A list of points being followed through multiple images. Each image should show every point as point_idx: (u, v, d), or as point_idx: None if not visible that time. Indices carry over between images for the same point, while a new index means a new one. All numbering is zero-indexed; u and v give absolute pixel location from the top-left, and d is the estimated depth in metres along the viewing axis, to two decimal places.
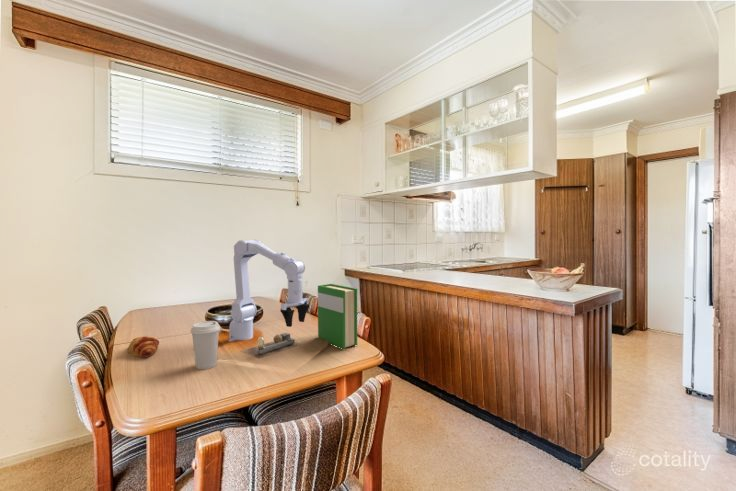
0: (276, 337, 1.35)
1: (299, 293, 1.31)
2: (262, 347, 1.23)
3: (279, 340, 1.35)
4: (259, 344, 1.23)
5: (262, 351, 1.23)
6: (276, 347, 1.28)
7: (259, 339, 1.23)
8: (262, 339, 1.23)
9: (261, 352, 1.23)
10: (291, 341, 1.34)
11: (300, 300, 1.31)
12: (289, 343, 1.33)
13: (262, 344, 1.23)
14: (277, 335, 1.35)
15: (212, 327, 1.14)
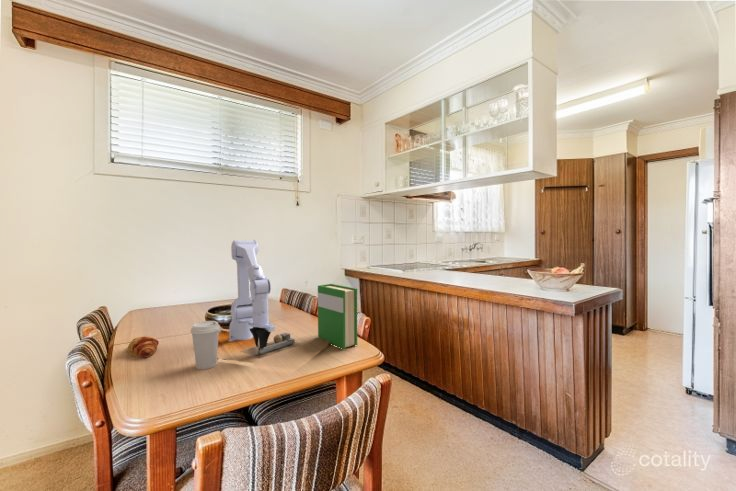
0: (276, 337, 1.35)
1: (253, 314, 1.22)
2: None
3: (279, 340, 1.35)
4: (259, 344, 1.23)
5: (262, 351, 1.23)
6: (276, 347, 1.28)
7: None
8: None
9: (261, 352, 1.23)
10: (291, 341, 1.34)
11: (253, 322, 1.21)
12: (289, 343, 1.33)
13: None
14: (277, 335, 1.35)
15: (212, 327, 1.14)
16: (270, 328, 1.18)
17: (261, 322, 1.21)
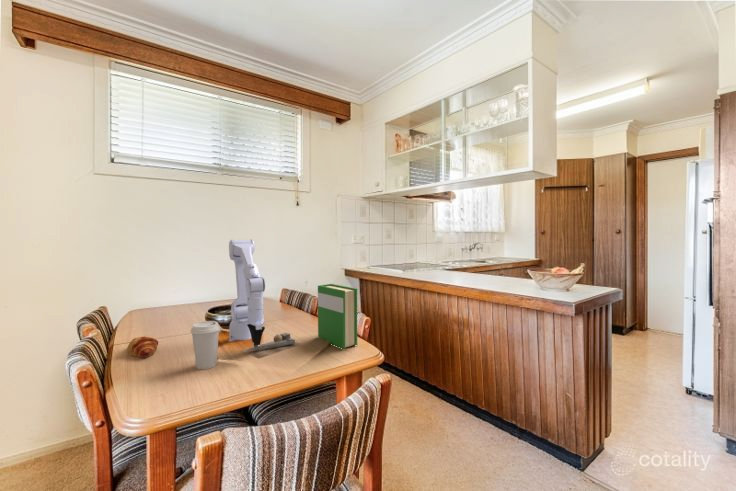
0: (276, 337, 1.35)
1: (247, 311, 1.27)
2: None
3: (279, 340, 1.35)
4: None
5: (257, 349, 1.27)
6: (273, 346, 1.30)
7: None
8: None
9: (255, 349, 1.26)
10: (290, 341, 1.33)
11: (248, 318, 1.26)
12: (288, 343, 1.33)
13: None
14: (277, 335, 1.35)
15: (212, 327, 1.14)
16: (257, 326, 1.21)
17: (253, 319, 1.25)
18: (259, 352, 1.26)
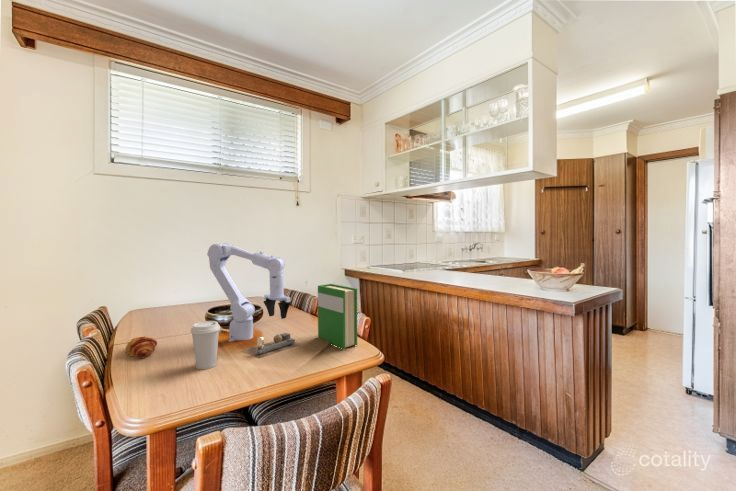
0: (276, 337, 1.35)
1: (270, 288, 1.40)
2: (261, 347, 1.23)
3: (279, 340, 1.35)
4: (258, 344, 1.23)
5: (262, 351, 1.24)
6: (276, 347, 1.28)
7: (258, 339, 1.23)
8: (261, 339, 1.23)
9: (260, 352, 1.23)
10: (291, 341, 1.34)
11: (271, 295, 1.40)
12: (289, 343, 1.33)
13: (261, 344, 1.23)
14: (277, 335, 1.35)
15: (212, 327, 1.14)
16: (287, 299, 1.38)
17: (278, 294, 1.40)
18: None
